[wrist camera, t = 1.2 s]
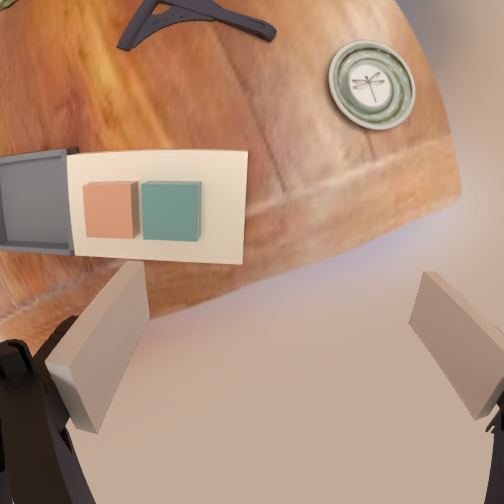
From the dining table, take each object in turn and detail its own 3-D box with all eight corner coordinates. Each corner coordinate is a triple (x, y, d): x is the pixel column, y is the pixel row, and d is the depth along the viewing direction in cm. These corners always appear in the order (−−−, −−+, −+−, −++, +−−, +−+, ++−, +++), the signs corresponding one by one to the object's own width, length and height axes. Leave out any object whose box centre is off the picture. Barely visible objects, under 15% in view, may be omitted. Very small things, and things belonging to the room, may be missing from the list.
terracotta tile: (95, 231, 29) (86, 237, 27) (92, 181, 27) (82, 185, 25) (140, 232, 29) (133, 239, 27) (138, 180, 27) (130, 184, 25)
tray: (7, 244, 33) (-4, 250, 31) (-2, 158, 29) (-14, 160, 27) (84, 248, 33) (75, 255, 31) (78, 146, 29) (66, 148, 27)
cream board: (91, 242, 33) (75, 255, 30) (85, 152, 30) (66, 155, 26) (243, 249, 34) (242, 264, 30) (248, 149, 30) (247, 151, 26)
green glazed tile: (149, 232, 29) (143, 239, 27) (148, 180, 27) (141, 184, 25) (200, 234, 29) (197, 241, 27) (201, 181, 27) (197, 184, 25)
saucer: (355, 146, 30) (363, 147, 28) (304, 68, 27) (309, 63, 25) (420, 106, 28) (431, 105, 26) (375, 33, 25) (383, 27, 23)
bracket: (240, 95, 29) (239, 91, 26) (119, 49, 26) (109, 42, 23) (302, -7, 24) (307, -17, 22) (183, -47, 22) (179, -58, 19)
